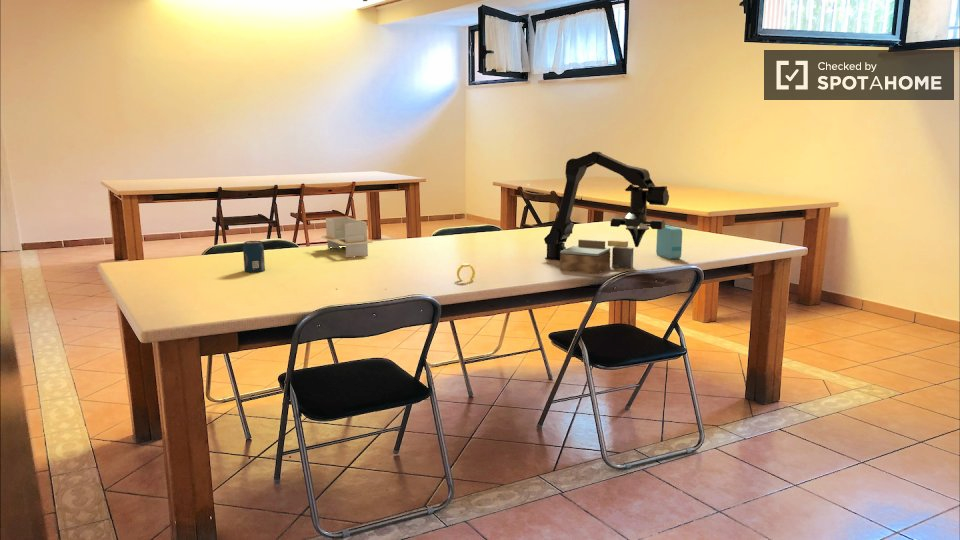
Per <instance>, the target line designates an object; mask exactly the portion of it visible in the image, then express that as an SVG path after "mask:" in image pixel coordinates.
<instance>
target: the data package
mask: <svg viewBox="0 0 960 540" xmlns="http://www.w3.org/2000/svg"><path fill="white" fill-rule="evenodd" d="M655 248H656V249H655V250H656V255H657V256H660V257H662V258H665V259H668V260H677V259H679V260H680V259H681V257H682V251H683V250H682V248H683V230H682V228H680V227H676V226H672V225H665V228H663V229H656V247H655Z"/></svg>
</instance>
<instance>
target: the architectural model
mask: <svg viewBox="0 0 960 540" xmlns="http://www.w3.org/2000/svg"><path fill="white" fill-rule="evenodd" d="M325 231H326V233H325V234H326V235H322V236H321V238H322V239H324V240H327V249H328V248H330V247H332V248H338V249H341V248H340V247H339V246H346V248H345V258H346V257H352V258H355V257H354V256H362V257H369V253H368V252H369V249H368V247H369V246H368V245H369V244H372V243H373V240H371V239H368V223H367V222H366V221H363V220H359V219H357V218H352V217H349V216H343V217H341V216H339V217H328V218H327V217H326V218H325Z"/></svg>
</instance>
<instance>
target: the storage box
mask: <svg viewBox="0 0 960 540" xmlns="http://www.w3.org/2000/svg"><path fill="white" fill-rule="evenodd" d="M559 262H560V263H559V271H564V272H566V271H567V272H573V271H574V272H575V273H583V274H584V273H585V274H595V275H597V274H600V273H601V272H603V271H605V270H607V269H609V268H611V250H610V251H608V252H606V253H604V254H601V255H599V256H589V255H576V254H563V253H562V254H560V260H559Z"/></svg>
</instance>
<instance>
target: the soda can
mask: <svg viewBox="0 0 960 540" xmlns="http://www.w3.org/2000/svg"><path fill="white" fill-rule="evenodd" d="M264 249H265V246H264V245H263V243H262V241H261V240H247V241H244V244H243V246H242V253H243V267H244V273H247V274H259V273H263V272H265V271H266V266H265V265H266V264H265V251H264Z"/></svg>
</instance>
